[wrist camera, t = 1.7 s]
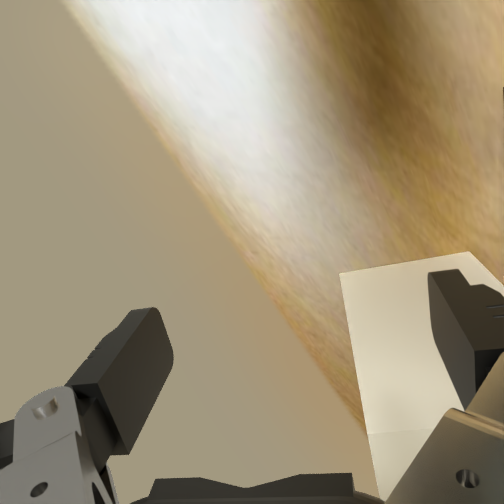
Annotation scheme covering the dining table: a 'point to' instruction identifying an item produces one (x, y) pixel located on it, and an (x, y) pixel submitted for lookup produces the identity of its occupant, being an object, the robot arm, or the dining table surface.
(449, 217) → the dining table surface
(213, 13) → the dining table surface
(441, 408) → the pedestal
